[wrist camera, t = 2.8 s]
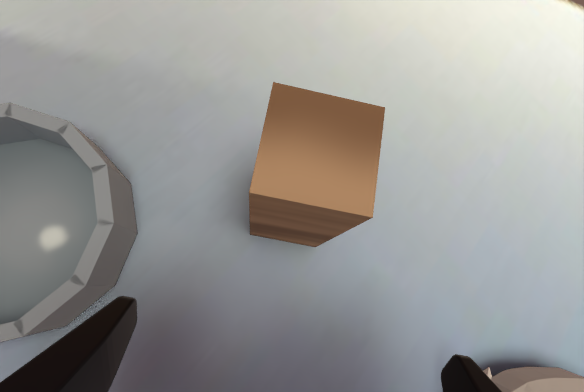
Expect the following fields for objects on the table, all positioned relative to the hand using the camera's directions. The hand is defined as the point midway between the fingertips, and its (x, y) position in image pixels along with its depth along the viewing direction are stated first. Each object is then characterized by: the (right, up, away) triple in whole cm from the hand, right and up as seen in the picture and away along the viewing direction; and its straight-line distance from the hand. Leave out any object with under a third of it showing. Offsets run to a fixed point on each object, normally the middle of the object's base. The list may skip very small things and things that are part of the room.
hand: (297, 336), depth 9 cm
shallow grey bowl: (-17, +2, +11) cm, 20 cm away
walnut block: (0, +3, +14) cm, 14 cm away
